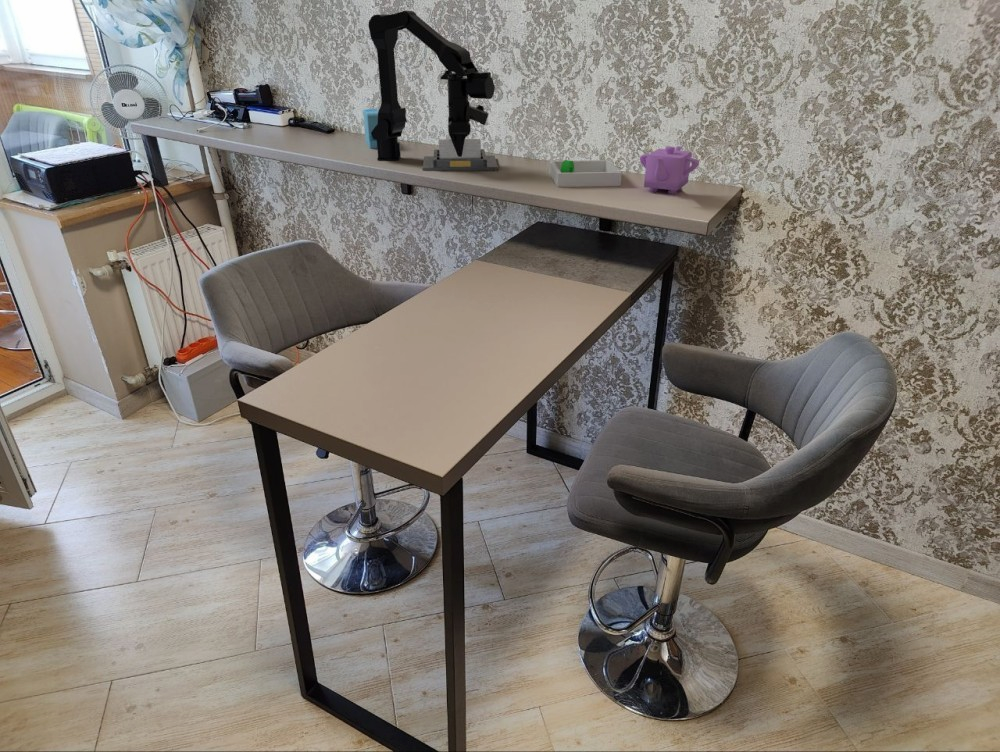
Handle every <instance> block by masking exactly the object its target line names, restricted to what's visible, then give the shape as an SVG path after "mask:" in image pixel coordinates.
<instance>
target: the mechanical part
mask: <svg viewBox="0 0 1000 752" xmlns="http://www.w3.org/2000/svg"><path fill="white" fill-rule="evenodd" d="M562 161H563V163H562V166H561V171H560V172H561V173H574V162H573V161H574V160H568V159H563V160H562Z"/></svg>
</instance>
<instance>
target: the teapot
mask: <svg viewBox="0 0 1000 752" xmlns="http://www.w3.org/2000/svg"><path fill="white" fill-rule="evenodd" d="M692 153H693V152H692V151H691V150H690V151H688V150H682V146H681V145H679V146H676V147H675V146H665V147H664V148H658V149H656V150H654V151H652V152H650V153H644V154H641V155H640V157H639V161H640V163H641V165H642V166H643V168H645V169H644V170H645V172H644V173H645V174H644V182H643V187H644V188H648V192H651V193H656V192H658V190H668V191H667V192H668V194H669V195H678V191H682V190H683V187H684V186H686V185H687V184H688V183H689V176H690V173H692V172H693V171H695V170H696V169H697V168H698V167H699V165H700V161H699V160H698V159H697V158H694V157H692Z"/></svg>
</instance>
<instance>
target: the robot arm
mask: <svg viewBox="0 0 1000 752" xmlns="http://www.w3.org/2000/svg"><path fill="white" fill-rule="evenodd" d="M404 29H406V30H407V31H409V32H410V33H411V34H412V35H414V36H415V37H416V38H417V39H418V40H419V41H421V42H422V43H423V44H424V45H425V46H427V47H428V49H430V50H431V51H433V52H434V53H435V55H436V56H437V59H438V60H439V62H440V63H441V64H442V65H443V67H444V68H445V69H446V70H445V71H444V73H443V74H442V75H441V76H440V80H441V81H442V80H444V81H447V100H448V103H447V104H448V105H447V106H448V117H447V118H448V119H447V120H448V122H447V129H448V136H449V137H450V139H451V140H452V143H453V145H454V148H455V150H456V153H457V155H458V157H462V152H463V146H464V141H465V139H467V137H468V136H469V135H470V134H471V132H472V131H471V123H470V122H471V121H475V122H476V123H479V124H481V125H483V126H486V124H487V121H488V117H489V115H490V113H489V112H487V111H486V110H485V108H484V106H483V105H481V104H478V105H477V106H476V107H475V106H472V105H471V103H470V101H469V98H471V99H480V100H481V99H483V100H485V99H486V100H491V99H492V98H493V97H494V95H495V88H496V85H495V82H494V79H493V78H492V75H491V74H492V73H491V72H490V71H486V72H479V70H478V68H477V67H476V65H475V63H473V60H472V57H471V53H470V51H469V50H468V49H466V48H464V46H461V45H459V44H457V43H456V42H452V41H450V40H448V39H446V38H445V37H444V36H442V35H441V33H439V32H438V31H436V30H435V29H434V28H433V27H432V26H430V24H428V23H427V22H426V21H424V20H423V19H422V18H421V17H420V16H418V15H417V13H416V12H415V11H413V10H401V11H400V12H399V11H398V12H395V13H391V14H389V13H388V14H387V13H386V14H381V13H380V14H379V13H378V14H373V15H372V16H371V17H370V19H369V20H368V30H369V35H370V39H371V41H372V43H373V45H374V46H375V49H376V54H377V55H376V56H377V65H378V66H377V67H378V78H379V87H380V89H379V90H380V98H381V99H380V100H381V103H380V106H379V109H378V124H377V125H376V126H375V128H374V129H373V130H372V132H371V135H372V138H373V140H377V148H376V149H377V160H376V161H399V159H400V158H401V154H402V153H401V142H399V138H401V137H402V135H403V134H402V133H403V130H404V129H405V128H406V123H407V122H408V120H407V117H406V116H407V115H406V114H407V110H406V109H407V108H405V107H402V106H401V105H400V103H399V100H398V99H399V98H398V97H399V96H398V86H397V85H398V84H397V72H396V61H395V58H396V57H395V47H396V43H397V41H398V39H399V38H398V37H399V31H401V30H404Z"/></svg>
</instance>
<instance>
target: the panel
mask: <svg viewBox="0 0 1000 752" xmlns="http://www.w3.org/2000/svg"><path fill="white" fill-rule="evenodd" d="M481 142H482V141H481V138H465V141H464V146H463V152H462V157H458V155H457V153H456V150H455V148H454V145H453V143H452V140H451V138H450V139H448V138H445V139H444V138H441V139H440V138H439V139H438V150H439V154H440V160H461V159H481V149H482V148H481V146H482V145H481V144H482V143H481Z"/></svg>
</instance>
